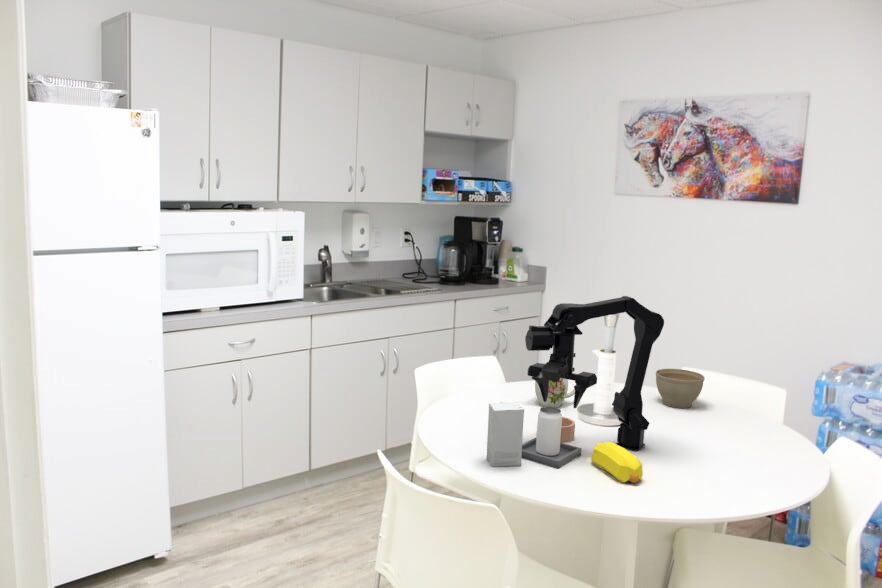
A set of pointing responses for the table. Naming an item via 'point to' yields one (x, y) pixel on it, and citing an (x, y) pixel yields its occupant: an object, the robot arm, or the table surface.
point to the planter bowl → (679, 386)
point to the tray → (557, 461)
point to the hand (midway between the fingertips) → (559, 404)
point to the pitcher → (554, 393)
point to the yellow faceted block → (617, 462)
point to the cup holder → (567, 429)
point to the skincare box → (505, 434)
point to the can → (549, 431)
